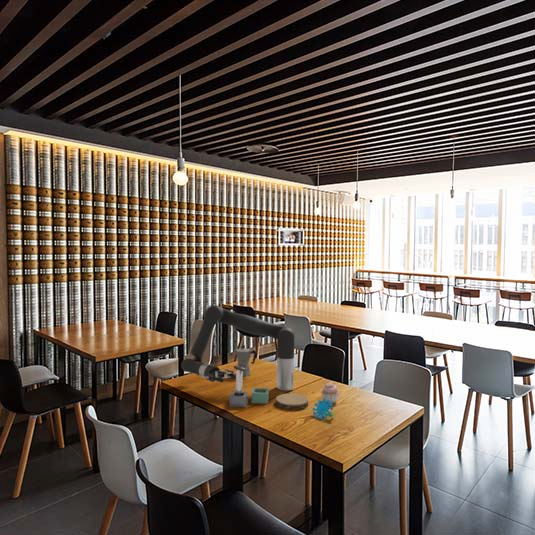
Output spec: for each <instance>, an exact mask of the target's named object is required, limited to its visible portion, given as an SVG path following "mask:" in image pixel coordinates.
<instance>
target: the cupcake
mask: <svg viewBox="0 0 535 535" xmlns="http://www.w3.org/2000/svg"><path fill="white" fill-rule="evenodd" d="M320 393H321V395H322V400H323V399H325V400H326V401H327V399H328V400H329V401H330V402H332V405H333V404H335V403H337V401H338V397H339V395H340V392H339V391H338V388H337V386H336V385H335V384H333V382H331V381H330V382H328V383H326V384H324V387H323V388H322V390H320ZM326 401H325V402H326ZM325 402H324V403H325ZM330 402H329V403H330ZM329 403H328V404H329Z"/></svg>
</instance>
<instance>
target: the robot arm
mask: <svg viewBox="0 0 535 535" xmlns="http://www.w3.org/2000/svg"><path fill="white" fill-rule="evenodd" d="M217 323H222V324H225V325H229V326H230V327H231V326H232V327H233V328H235V329H237V330H240V331H242V332H244V333H248V334H250V335H254V336H262V337H263V336H264V337H270V338H273V339H275V340H277V342H276V348H277V349H276V353H277V357H276V358H277V361H276V364H277V366H276V389H277V390H279V391H294V381H295V380H294V378H295V376H294V375H295V374H294V373H295V372H294V371H295V337H296V333H295V331H294V330H293V329H292V328H291V327H288V326H283V325H279V324H278V325H277V324H275V323H270V322H268V321H265V320H263V319H260V318H257V317H254V316H251V315H247V314H243V313H238V312H233V311H230V310H228V309H225V308H223V307H221V306H219V305H210V306H208V307H207V308H206V310H205V314H204V318H203V322H202V324H201V327H200V330H199V333H198V334H197V337H196V339H195V341H194V343H193V345H192V348H191V349H190V354H191V355H192V356H194V357H193V358H187V357H186V358H184V359H183V360H182V361H181V369H182V371H185V372H186V373H191V374H194V375H197V376H199V377H202V378H203V379H206V380H207V381H209V382H213V383H214V382H219V383H223V382H224V379H228V378H230V379H233V380H236V373H235V371H234V370H229V369H225V370H222V369H220V368H219V366H216V365H213V364H211V363H205V362H202V360H203V356H204V353H205V350H206V348H207V346H208V344H209V340H210V337H211V335H212V334H211V333H212V331H213V329H214V327H215V326H216V324H217Z"/></svg>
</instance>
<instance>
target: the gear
mask: <svg viewBox="0 0 535 535" xmlns="http://www.w3.org/2000/svg"><path fill="white" fill-rule="evenodd" d="M317 401H318V403H317V402H315V403H314V406H313V407H312V415H313V416H314V417H315V418H316V419H318V418H319V419H320V420H323V418H324V419H327V418H328V417H330V418H332V420H333V419H335V417H334V412H333V410H334V408H333V404H332V402H330V401H329V400H328V399H327V401H326V400H325V399H323V398H322V400H321V399H317ZM325 401H326V402H325ZM329 402H330V403H329ZM315 407H316V408H315Z"/></svg>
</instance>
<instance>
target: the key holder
mask: <svg viewBox="0 0 535 535" xmlns="http://www.w3.org/2000/svg"><path fill="white" fill-rule="evenodd" d="M269 394H270V388H268V387H266V388H265V387H263V388H262V387H253V388H252V391H251V404H262V405H263V404H267V405H268V403H269V400H270V399H269V398H270V396H269Z"/></svg>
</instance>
